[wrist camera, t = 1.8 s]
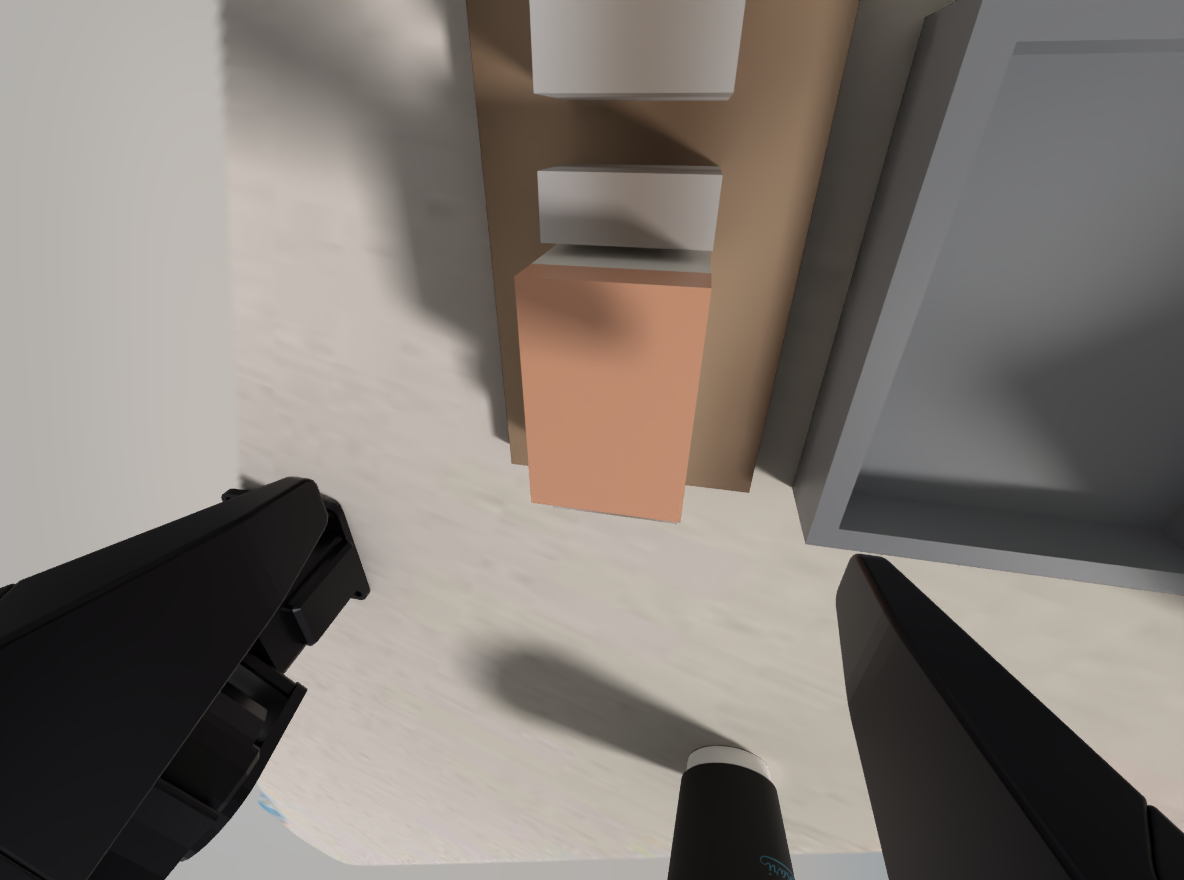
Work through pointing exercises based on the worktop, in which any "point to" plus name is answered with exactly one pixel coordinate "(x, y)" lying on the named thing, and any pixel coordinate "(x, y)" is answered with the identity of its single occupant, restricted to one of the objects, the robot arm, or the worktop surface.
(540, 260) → the block
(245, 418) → the worktop surface
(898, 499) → the tray
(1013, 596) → the worktop surface
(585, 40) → the board
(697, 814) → the dixie cup
